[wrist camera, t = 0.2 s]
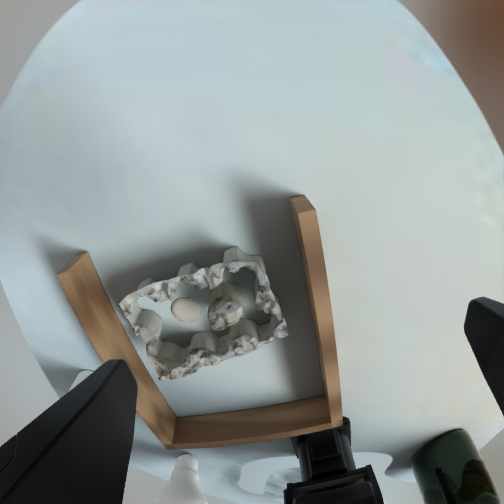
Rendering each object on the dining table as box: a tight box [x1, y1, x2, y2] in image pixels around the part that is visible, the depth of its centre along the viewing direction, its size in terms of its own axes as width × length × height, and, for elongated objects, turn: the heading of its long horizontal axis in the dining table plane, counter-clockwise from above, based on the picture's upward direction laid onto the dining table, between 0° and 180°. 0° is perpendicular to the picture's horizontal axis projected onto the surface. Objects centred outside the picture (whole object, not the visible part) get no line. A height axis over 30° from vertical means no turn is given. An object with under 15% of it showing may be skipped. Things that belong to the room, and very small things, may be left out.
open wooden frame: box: [56, 195, 343, 449], centre depth 23 cm, size 20×17×4 cm
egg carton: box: [119, 246, 289, 380], centre depth 22 cm, size 11×8×4 cm
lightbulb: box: [153, 454, 207, 504], centre depth 27 cm, size 6×6×11 cm
